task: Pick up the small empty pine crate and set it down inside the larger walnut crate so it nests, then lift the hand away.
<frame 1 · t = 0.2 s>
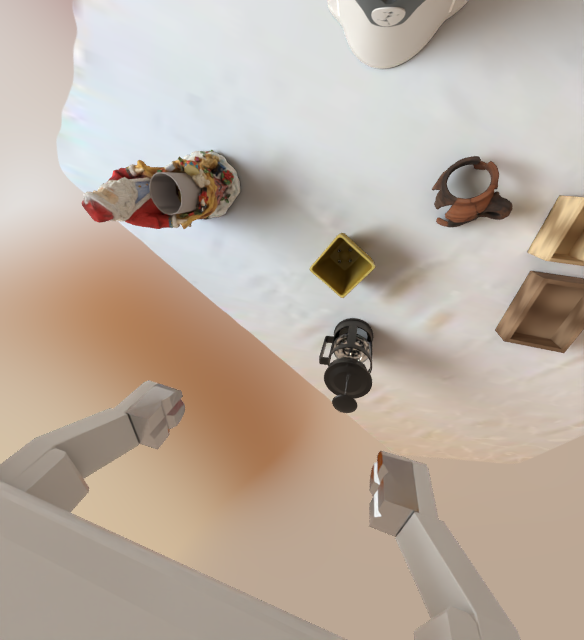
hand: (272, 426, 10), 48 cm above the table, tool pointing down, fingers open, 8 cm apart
french press: (351, 334, 61), on the table
flower pot: (345, 255, 53), on the table
santa figurine: (207, 187, 54), on the table
big crate: (540, 307, 47), on the table
small crate: (563, 227, 41), on the table
pottery mug: (463, 197, 43), on the table
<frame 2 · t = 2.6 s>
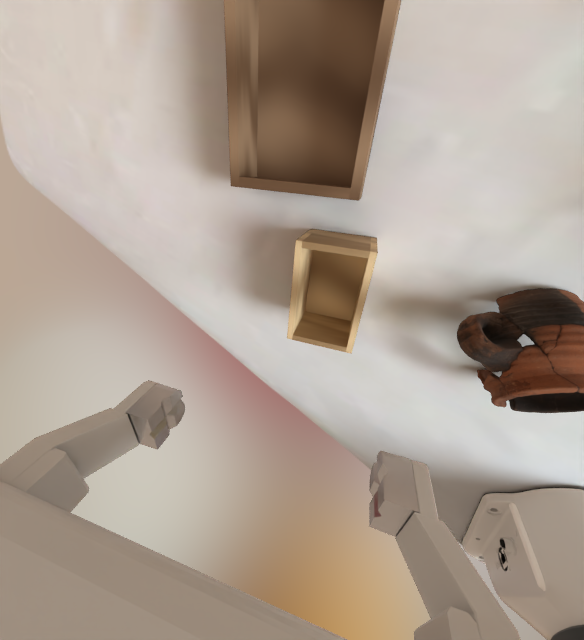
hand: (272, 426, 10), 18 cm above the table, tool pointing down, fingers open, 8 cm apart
big crate: (313, 95, 19), on the table
small crate: (334, 279, 25), on the table
pottery mug: (507, 331, 23), on the table
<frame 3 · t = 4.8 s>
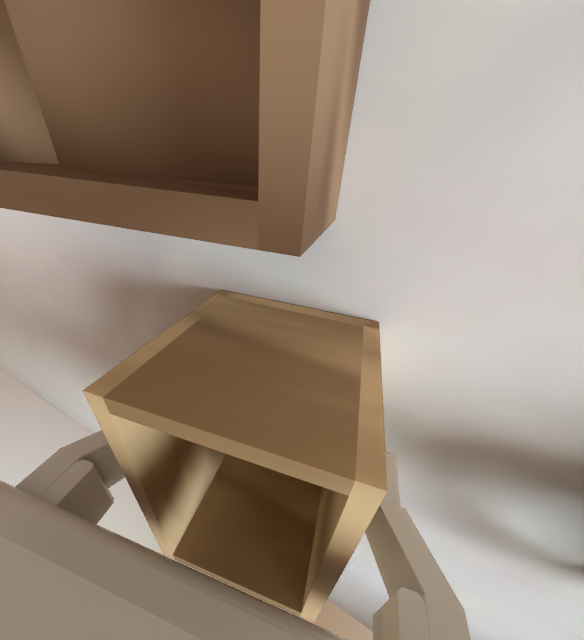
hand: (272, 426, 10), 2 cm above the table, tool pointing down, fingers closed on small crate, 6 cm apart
small crate: (286, 391, 11), on the table, touching gripper
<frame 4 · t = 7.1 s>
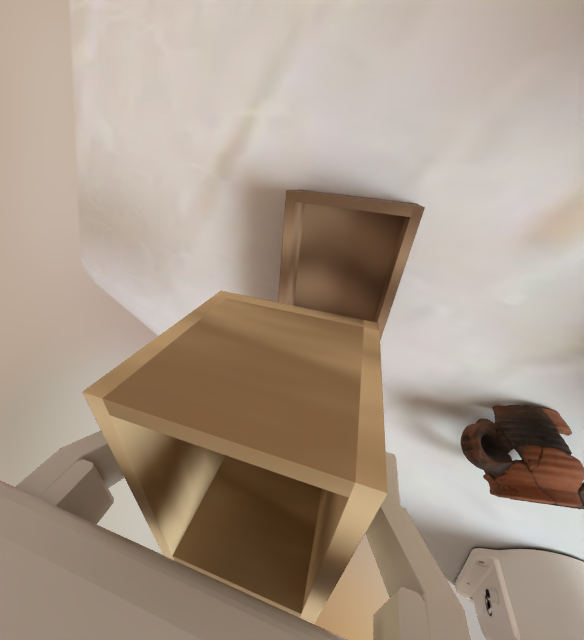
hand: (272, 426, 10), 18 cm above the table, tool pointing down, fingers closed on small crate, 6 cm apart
big crate: (341, 268, 25), on the table
small crate: (286, 392, 11), point 16 cm above the table, touching gripper
pottery mug: (503, 429, 28), on the table
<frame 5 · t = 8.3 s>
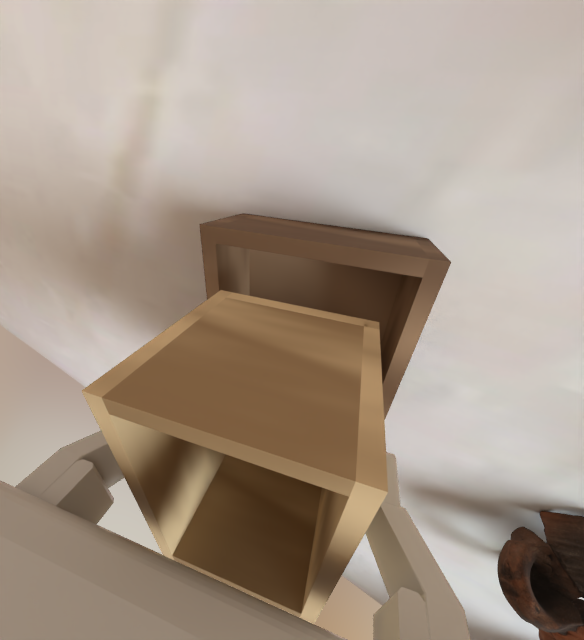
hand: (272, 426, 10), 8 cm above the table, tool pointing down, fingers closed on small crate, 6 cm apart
big crate: (313, 327, 16), on the table
small crate: (286, 392, 11), point 6 cm above the table, touching gripper
pottery mug: (551, 534, 20), on the table
when the fingers open (5 cm above the table, at t = 9.4 s): small crate drops 2 cm, resting on big crate.
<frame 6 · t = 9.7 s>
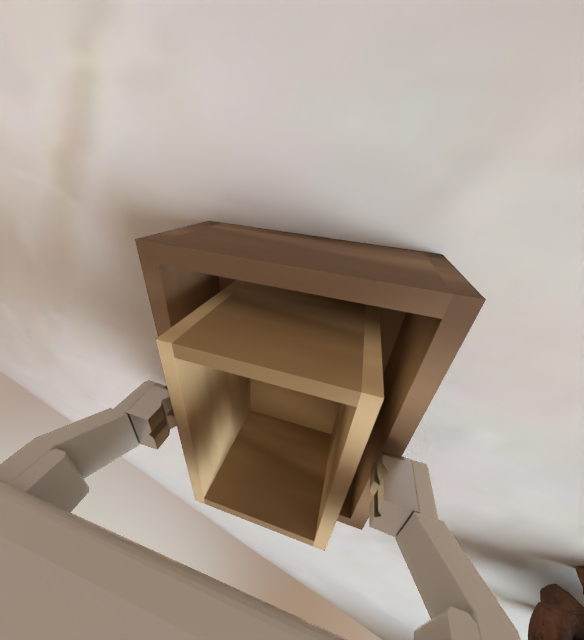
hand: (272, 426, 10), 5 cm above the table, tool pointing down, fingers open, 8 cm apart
big crate: (299, 356, 14), on the table, touching small crate
small crate: (297, 365, 13), point 1 cm above the table, touching big crate
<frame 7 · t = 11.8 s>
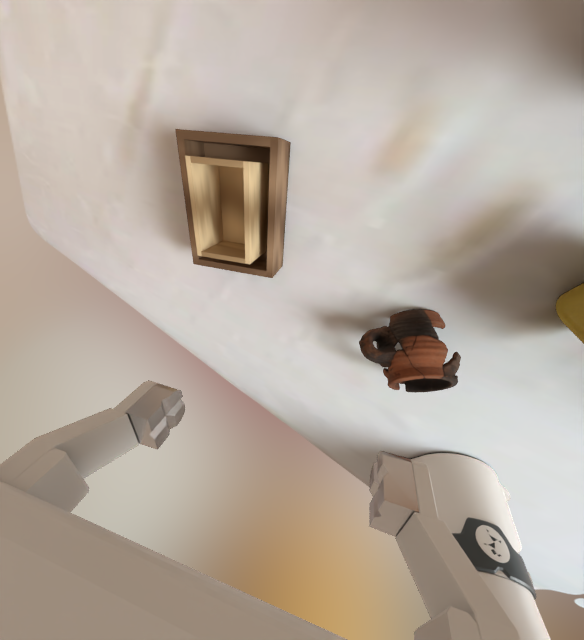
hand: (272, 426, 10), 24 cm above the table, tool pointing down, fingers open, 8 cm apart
big crate: (245, 206, 29), on the table, touching small crate
small crate: (243, 207, 28), point 1 cm above the table, touching big crate
pottery mug: (403, 337, 33), on the table
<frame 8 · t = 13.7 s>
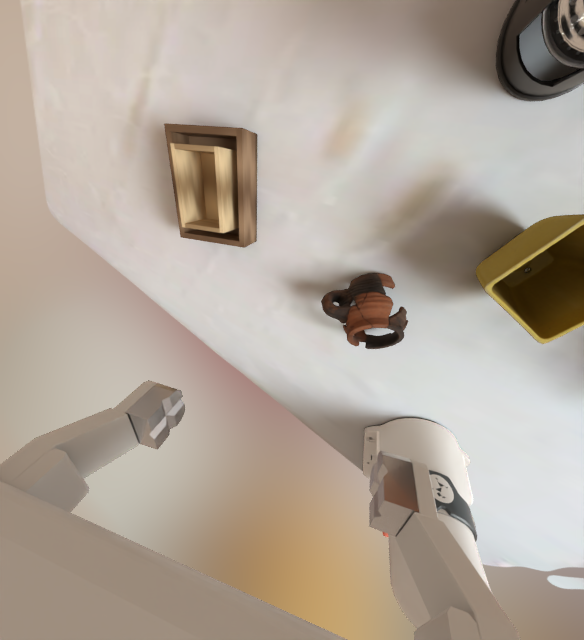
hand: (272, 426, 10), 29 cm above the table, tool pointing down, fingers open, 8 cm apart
french press: (570, 28, 21), on the table
flower pot: (515, 259, 29), on the table
big crate: (224, 189, 35), on the table, touching small crate
small crate: (221, 189, 34), point 1 cm above the table, touching big crate
pottery mug: (364, 301, 37), on the table
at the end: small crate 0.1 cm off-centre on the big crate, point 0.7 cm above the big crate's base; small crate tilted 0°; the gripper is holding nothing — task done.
